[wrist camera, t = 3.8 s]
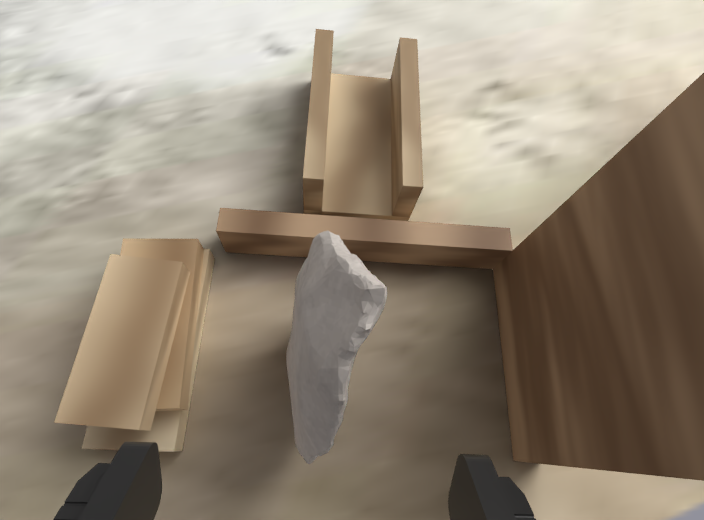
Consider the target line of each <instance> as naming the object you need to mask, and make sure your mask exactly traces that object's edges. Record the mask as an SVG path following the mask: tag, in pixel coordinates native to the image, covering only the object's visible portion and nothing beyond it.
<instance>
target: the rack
mask: <svg viewBox="0 0 704 520" xmlns="http://www.w3.org/2000/svg"><path fill="white" fill-rule="evenodd" d="M323 231H330V232H331V233H333V234H336V235H339V236H340V238H341V240H342V241H343V243H344V245H345V246H346V247H347V249H348V250H349V251H350V253H351V254H355V255H357V257H358V258H360V260H361V261H373V262H388V263H404V264H420V265H436V266H452V267H468V268H483V269H493V275H494V284H495V293H496V303H497V312H498V321H499V331H500V340H501V349H502V359H503V368H504V377H505V387H506V396H507V405H508V415H509V424H510V433H511V443H512V452H513V461H520V462H529V463H539V464H549V465H558V466H568V467H578V468H587V469H597V470H607V471H617V472H626V473H636V474H646V475H655V476H665V477H675V478H684V479H694V480H704V73H703V74H702V75H701V76H700V77H699V78H698V79H696V80H695V81H694V82H693V83H692V84H691V85H690V86H689V87H688V88H687V89H686V90H685V91H684V92H683V93H681V94H680V95H679V96H678V97H677V98H676V99H675V100H674V101H673V102H672V103H671V104H670V105H669V106H667V107H666V108H665V109H664V110H663V111H662V112H661V113H660V114H659V115H658V116H657V117H656V118H655V119H654V120H652V121H651V122H650V123H649V124H648V125H647V126H646V127H645V128H644V129H643V130H642V131H641V132H640V133H638V134H637V135H636V136H635V137H634V138H633V139H632V140H631V141H630V142H629V143H628V144H627V145H626V146H625V147H623V148H622V149H621V150H620V151H619V152H618V153H617V154H616V155H615V156H614V157H613V158H612V159H611V160H610V161H608V162H607V163H606V164H605V165H604V166H603V167H602V168H601V169H600V170H599V171H598V172H597V173H596V174H594V175H593V176H592V177H591V178H590V179H589V180H588V181H587V182H586V183H585V184H584V185H583V186H582V187H581V188H579V189H578V190H577V191H576V192H575V193H574V194H573V195H572V196H571V197H570V198H569V199H568V200H567V201H565V202H564V203H563V204H562V205H561V206H560V207H559V208H558V209H557V210H556V211H555V212H554V213H553V214H552V215H550V216H549V217H548V218H547V219H546V220H545V221H544V222H543V223H542V224H541V225H540V226H539V227H538V228H537V229H535V230H534V231H533V232H532V233H531V234H530V235H529V236H528V237H527V238H526V239H525V240H524V241H523V242H521V243H520V244H519V245H518V246H517V247H516V248H515V249H514V250H513V249H512V241H511V234H510V228H498V227H484V226H470V225H456V224H442V223H427V222H413V221H399V220H385V219H371V218H356V217H342V216H328V215H314V214H300V213H286V212H271V211H257V210H243V209H229V208H220V212H219V217H218V223H217V229H216V232H217V234H218V236H219V238H220V241H221V243H222V245H223V247H224V250H225V252H230V253H246V254H262V255H277V256H293V257H308V254H309V250H310V247H311V244H312V241H313V239H314V238H315V236H316V235H318V234H319V233H321V232H323Z"/></svg>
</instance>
